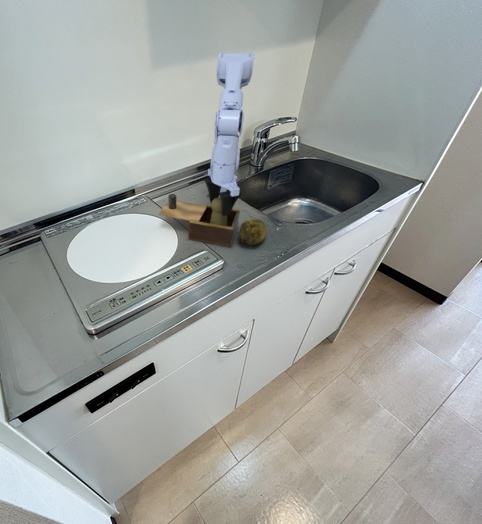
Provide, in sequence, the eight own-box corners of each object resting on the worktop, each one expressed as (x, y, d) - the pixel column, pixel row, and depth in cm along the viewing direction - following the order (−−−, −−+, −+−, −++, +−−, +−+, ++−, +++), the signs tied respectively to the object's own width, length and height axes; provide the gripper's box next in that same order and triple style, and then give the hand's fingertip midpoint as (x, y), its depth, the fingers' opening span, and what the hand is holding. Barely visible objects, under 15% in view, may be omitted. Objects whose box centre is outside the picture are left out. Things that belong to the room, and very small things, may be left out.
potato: (276, 238, 84) (283, 215, 79) (251, 256, 78) (256, 232, 73) (253, 227, 89) (258, 205, 84) (227, 243, 83) (230, 220, 77)
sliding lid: (169, 201, 91) (169, 187, 88) (207, 207, 87) (208, 193, 84) (158, 215, 84) (157, 201, 81) (198, 222, 81) (199, 208, 78)
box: (199, 221, 93) (200, 203, 88) (237, 227, 89) (240, 209, 85) (189, 239, 84) (189, 221, 80) (230, 247, 81) (233, 228, 77)
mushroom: (209, 225, 89) (212, 193, 82) (228, 228, 87) (233, 196, 80) (205, 235, 84) (208, 203, 77) (225, 239, 83) (230, 205, 76)
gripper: (253, 169, 68) (244, 218, 77) (225, 150, 78) (220, 195, 87) (227, 173, 66) (221, 222, 75) (202, 154, 77) (199, 199, 85)
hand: (219, 208), depth 81 cm, fingers open, 7 cm apart
